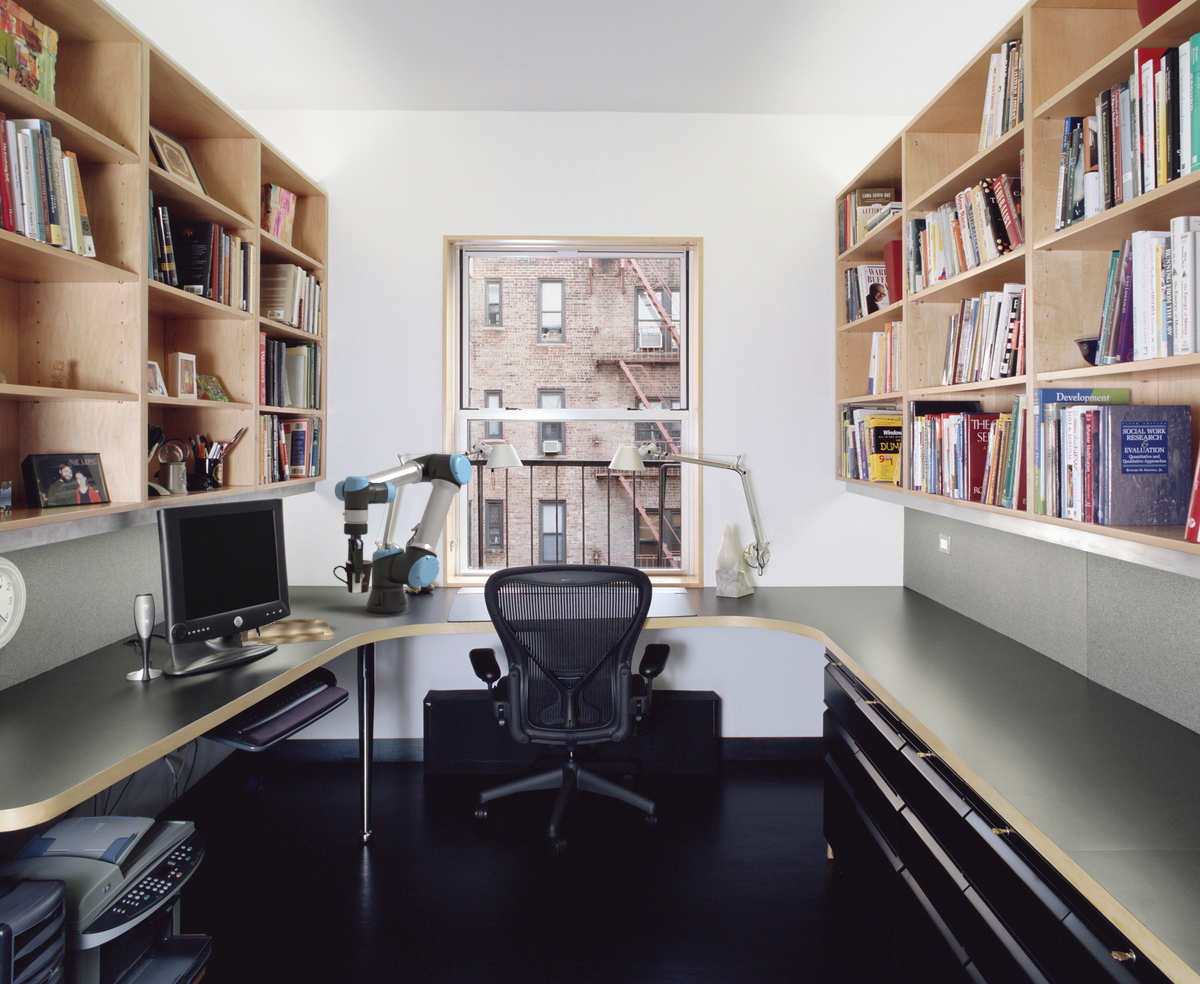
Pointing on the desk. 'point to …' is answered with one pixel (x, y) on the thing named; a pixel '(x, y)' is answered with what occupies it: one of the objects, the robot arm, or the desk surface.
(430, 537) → the robot arm
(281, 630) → the channel board
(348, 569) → the coffee mug
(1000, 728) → the desk surface
